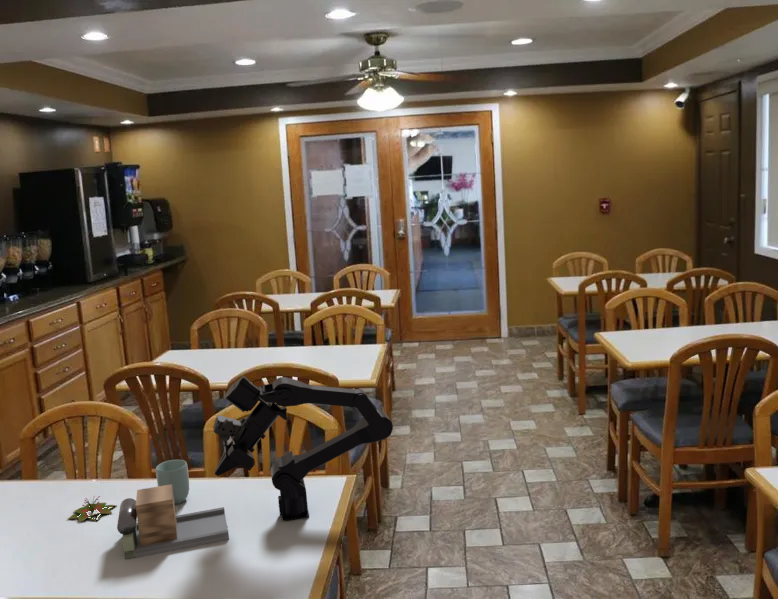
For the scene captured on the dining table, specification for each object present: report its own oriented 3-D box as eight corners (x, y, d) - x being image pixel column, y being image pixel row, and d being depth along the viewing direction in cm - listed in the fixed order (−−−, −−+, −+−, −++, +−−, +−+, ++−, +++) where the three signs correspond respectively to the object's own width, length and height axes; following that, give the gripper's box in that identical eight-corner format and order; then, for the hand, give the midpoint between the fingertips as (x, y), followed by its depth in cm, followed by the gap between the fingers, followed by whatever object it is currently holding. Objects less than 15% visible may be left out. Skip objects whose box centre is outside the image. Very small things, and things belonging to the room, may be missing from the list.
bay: (224, 513, 186) (221, 479, 184) (229, 539, 173) (225, 503, 171) (124, 532, 179) (119, 497, 178) (120, 560, 166) (115, 522, 165)
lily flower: (87, 502, 199) (85, 486, 198) (126, 505, 196) (124, 488, 195) (57, 524, 187) (55, 507, 186) (99, 526, 184) (96, 509, 183)
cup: (182, 508, 191) (178, 471, 189) (154, 507, 192) (150, 470, 190) (196, 495, 198) (191, 459, 196) (169, 494, 200) (164, 459, 198)
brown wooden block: (176, 522, 180) (172, 483, 179) (177, 539, 172) (172, 499, 170) (142, 528, 178) (137, 489, 176) (141, 546, 169) (135, 505, 168)
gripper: (228, 393, 184) (187, 442, 183) (234, 415, 166) (189, 470, 165) (263, 418, 187) (223, 467, 186) (273, 443, 170) (229, 497, 169)
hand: (216, 474), depth 176 cm, fingers closed
